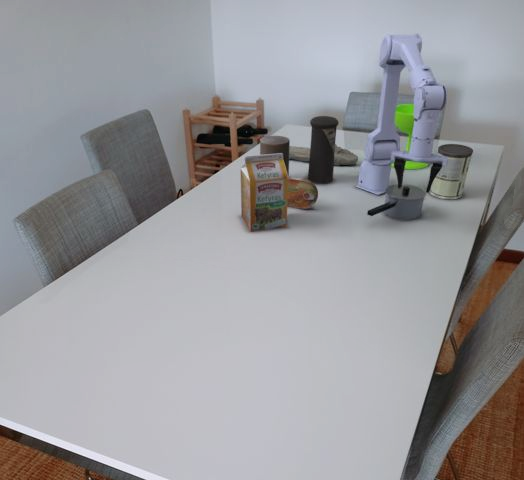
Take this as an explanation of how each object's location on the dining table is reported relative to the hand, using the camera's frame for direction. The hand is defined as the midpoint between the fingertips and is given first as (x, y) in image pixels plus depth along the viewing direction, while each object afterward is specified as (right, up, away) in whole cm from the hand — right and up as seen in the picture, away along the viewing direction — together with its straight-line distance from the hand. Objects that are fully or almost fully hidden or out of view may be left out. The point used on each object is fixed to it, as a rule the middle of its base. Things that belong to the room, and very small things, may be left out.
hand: (413, 189), depth 139 cm
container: (-22, +14, +34) cm, 43 cm away
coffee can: (+18, +6, +25) cm, 31 cm away
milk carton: (-41, -7, +8) cm, 43 cm away
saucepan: (-3, -5, +11) cm, 12 cm away
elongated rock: (-23, +27, +51) cm, 62 cm away
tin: (-32, 0, +17) cm, 36 cm away
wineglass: (+12, +26, +49) cm, 57 cm away
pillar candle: (-38, +13, +33) cm, 52 cm away
